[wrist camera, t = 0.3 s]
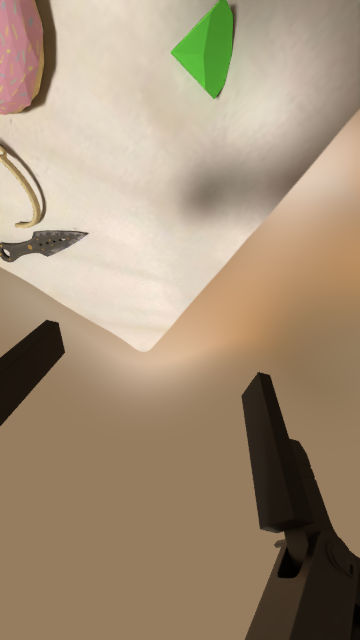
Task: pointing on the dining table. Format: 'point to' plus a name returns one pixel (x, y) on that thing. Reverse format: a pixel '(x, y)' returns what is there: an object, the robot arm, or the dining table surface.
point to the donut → (20, 54)
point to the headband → (27, 188)
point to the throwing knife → (36, 242)
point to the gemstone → (208, 48)
